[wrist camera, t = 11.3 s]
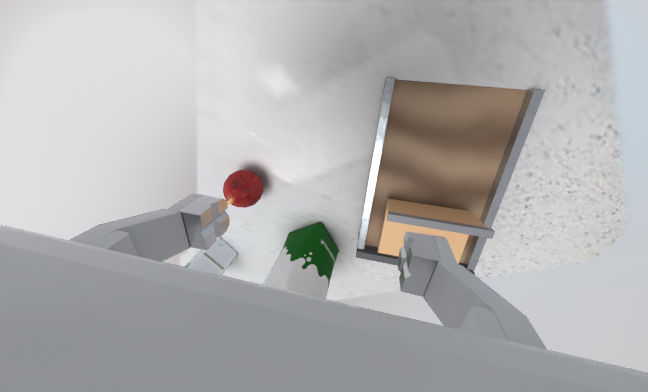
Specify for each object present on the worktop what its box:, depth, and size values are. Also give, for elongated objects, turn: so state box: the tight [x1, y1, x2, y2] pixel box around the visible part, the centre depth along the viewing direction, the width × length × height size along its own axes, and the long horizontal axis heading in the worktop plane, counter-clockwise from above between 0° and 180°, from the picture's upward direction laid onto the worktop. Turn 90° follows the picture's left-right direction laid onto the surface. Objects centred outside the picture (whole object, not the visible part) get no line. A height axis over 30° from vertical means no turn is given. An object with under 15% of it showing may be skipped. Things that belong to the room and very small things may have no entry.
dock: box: [356, 77, 545, 275], centre depth 32 cm, size 25×17×6 cm
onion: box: [223, 170, 263, 207], centre depth 36 cm, size 6×6×8 cm
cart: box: [378, 199, 495, 264], centre depth 31 cm, size 9×12×7 cm
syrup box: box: [185, 236, 237, 275], centre depth 43 cm, size 6×6×14 cm
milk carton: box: [263, 222, 339, 299], centre depth 35 cm, size 9×9×20 cm
